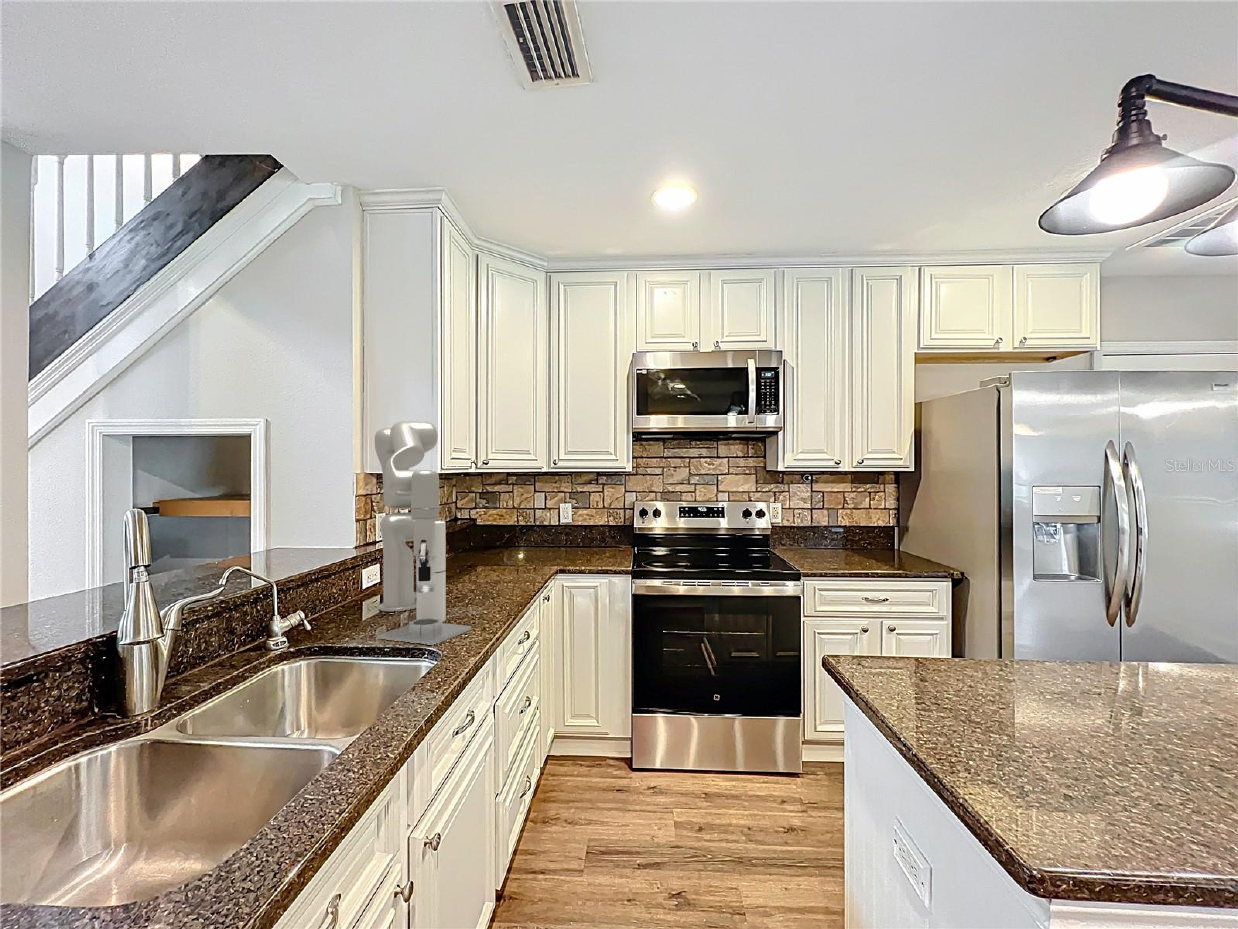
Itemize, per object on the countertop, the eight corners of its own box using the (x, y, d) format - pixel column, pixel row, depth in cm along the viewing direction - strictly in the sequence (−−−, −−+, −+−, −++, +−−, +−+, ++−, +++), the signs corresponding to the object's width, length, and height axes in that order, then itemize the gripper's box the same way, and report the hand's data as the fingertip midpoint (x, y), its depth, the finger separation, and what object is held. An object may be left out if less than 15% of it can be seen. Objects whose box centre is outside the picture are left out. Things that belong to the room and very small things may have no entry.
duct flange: (420, 624, 192) (420, 612, 192) (471, 629, 185) (471, 617, 185) (377, 639, 175) (377, 626, 175) (431, 646, 169) (431, 632, 169)
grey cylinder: (421, 589, 183) (421, 554, 183) (438, 589, 182) (438, 554, 182) (412, 592, 178) (412, 556, 178) (430, 593, 177) (430, 556, 177)
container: (410, 622, 194) (410, 523, 194) (428, 616, 202) (428, 520, 202) (433, 624, 191) (433, 524, 191) (451, 618, 199) (451, 521, 199)
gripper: (415, 512, 188) (415, 575, 188) (407, 516, 171) (407, 585, 171) (441, 512, 189) (442, 574, 189) (436, 516, 173) (436, 584, 172)
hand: (425, 578), depth 180 cm, fingers closed on grey cylinder, 5 cm apart
